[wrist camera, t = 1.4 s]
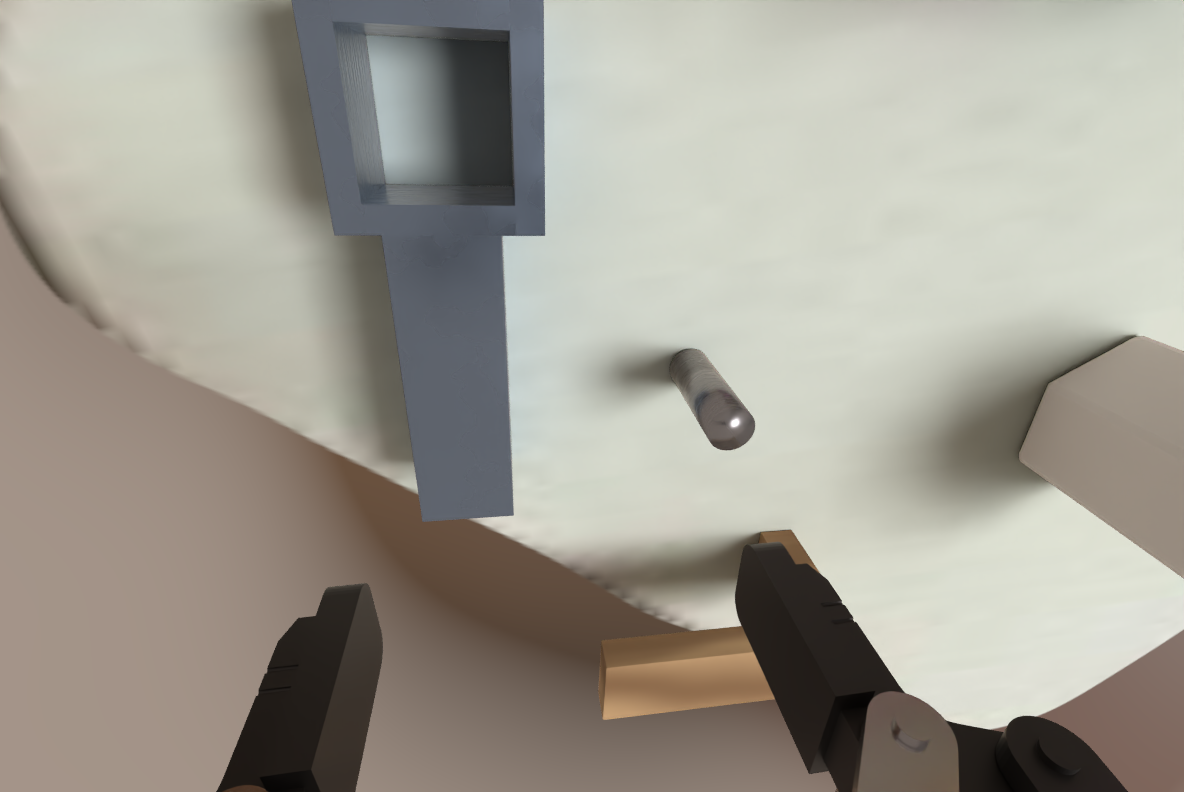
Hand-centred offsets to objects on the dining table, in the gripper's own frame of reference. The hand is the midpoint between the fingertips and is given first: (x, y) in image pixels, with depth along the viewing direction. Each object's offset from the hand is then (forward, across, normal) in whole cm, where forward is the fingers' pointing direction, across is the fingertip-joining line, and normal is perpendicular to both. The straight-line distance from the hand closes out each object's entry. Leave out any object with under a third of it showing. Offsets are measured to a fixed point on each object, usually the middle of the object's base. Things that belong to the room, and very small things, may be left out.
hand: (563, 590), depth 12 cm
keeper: (+16, -9, +16) cm, 24 cm away
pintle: (+16, -8, +3) cm, 18 cm away
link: (+16, +3, -3) cm, 16 cm away
